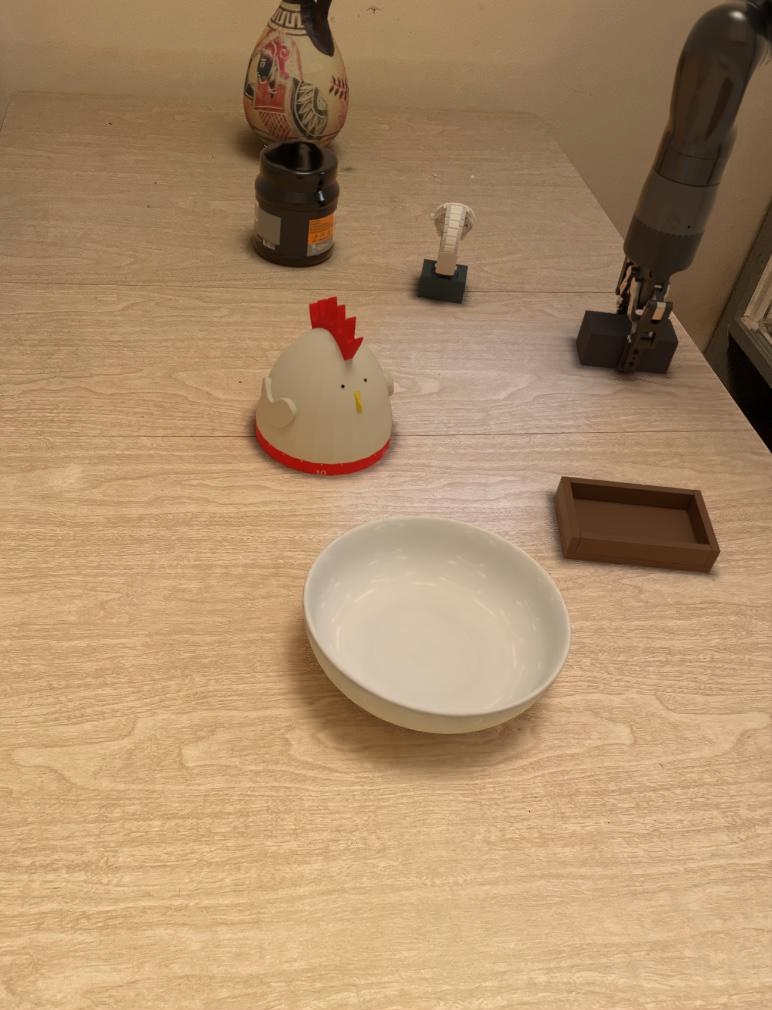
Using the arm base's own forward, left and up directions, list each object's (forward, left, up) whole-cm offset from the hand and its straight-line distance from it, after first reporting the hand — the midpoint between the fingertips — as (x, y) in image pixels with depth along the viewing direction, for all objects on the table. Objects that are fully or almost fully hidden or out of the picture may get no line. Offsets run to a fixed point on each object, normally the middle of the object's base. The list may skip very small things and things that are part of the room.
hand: (621, 353), depth 113 cm
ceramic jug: (+42, -48, -1) cm, 63 cm away
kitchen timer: (+34, +20, -1) cm, 39 cm away
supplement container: (+40, -18, -1) cm, 44 cm away
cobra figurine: (+21, -11, -1) cm, 24 cm away
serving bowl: (+24, +49, -1) cm, 55 cm away
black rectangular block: (0, 0, -1) cm, 1 cm away
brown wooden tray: (+4, +31, -1) cm, 31 cm away
